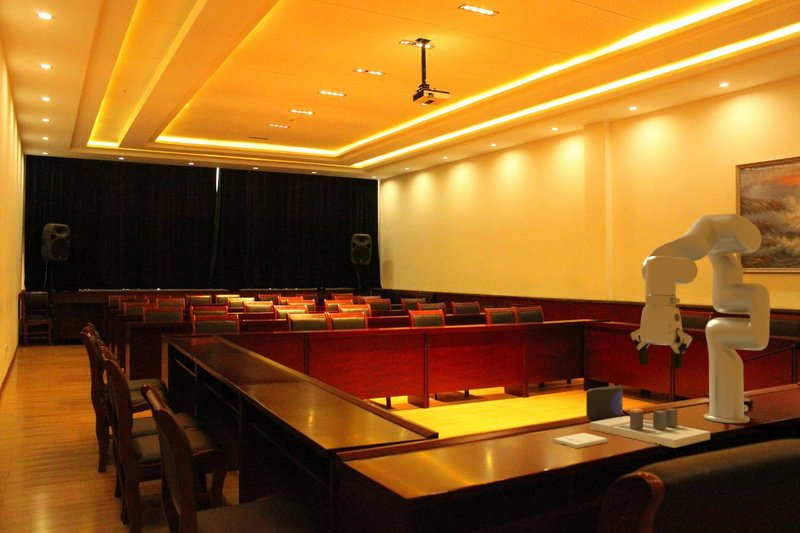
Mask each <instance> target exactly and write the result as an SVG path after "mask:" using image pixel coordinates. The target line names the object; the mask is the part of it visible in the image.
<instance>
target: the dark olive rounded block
mask: <svg viewBox="0 0 800 533" xmlns="http://www.w3.org/2000/svg"><path fill="white" fill-rule="evenodd" d="M623 391H624V390H623V387H622V385H612V386H611V385H610V386H603V387H602V386H601V387H595V388H589V389H588V390H586V406H585V407H586V417H587V419H590V420H594V421H600V420H606V419H611V418H617V417H622V415H623V411H624V410H623V407H624V406H623V402H624V401H623V397H624V396H623V394H624V393H623Z"/></svg>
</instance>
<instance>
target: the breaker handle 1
mask: <svg viewBox="0 0 800 533" xmlns="http://www.w3.org/2000/svg"><path fill="white" fill-rule="evenodd" d="M652 413H653V414H652V416H653V418H652V421H653V428H656V429H664V428H666V411H665V410H661V409H660V410H655V411H653V412H652Z"/></svg>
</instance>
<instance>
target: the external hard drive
mask: <svg viewBox="0 0 800 533" xmlns="http://www.w3.org/2000/svg"><path fill="white" fill-rule="evenodd" d="M608 440H609V439H608V438H607V437H603V436H600V435H595V434H591V433H587V432H581V433H576V434H571V435H570V434H569V435H566V436H565V435H564V436H560V437H555V438H551V443H554V444H559V445H561V444H562V445H563V446H567V447H570V448H574V449H581V448H585V447H589V446H595V445H600V444H606V443H608V442H609V441H608Z"/></svg>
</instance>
